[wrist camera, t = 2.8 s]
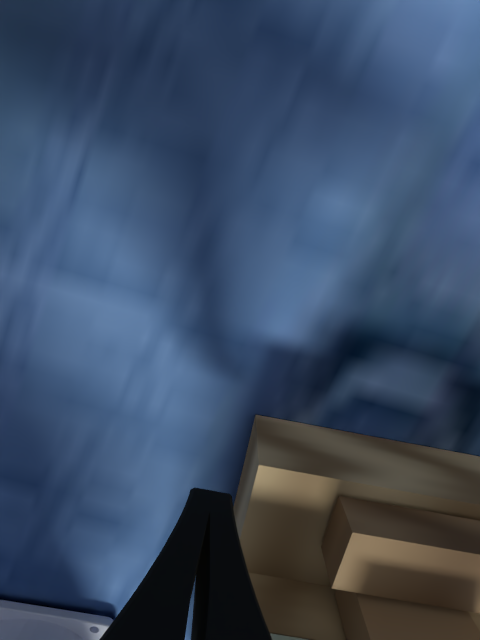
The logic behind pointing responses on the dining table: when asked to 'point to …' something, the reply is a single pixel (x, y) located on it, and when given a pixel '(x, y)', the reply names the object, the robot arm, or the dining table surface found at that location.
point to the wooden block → (403, 554)
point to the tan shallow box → (329, 509)
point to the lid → (398, 620)
